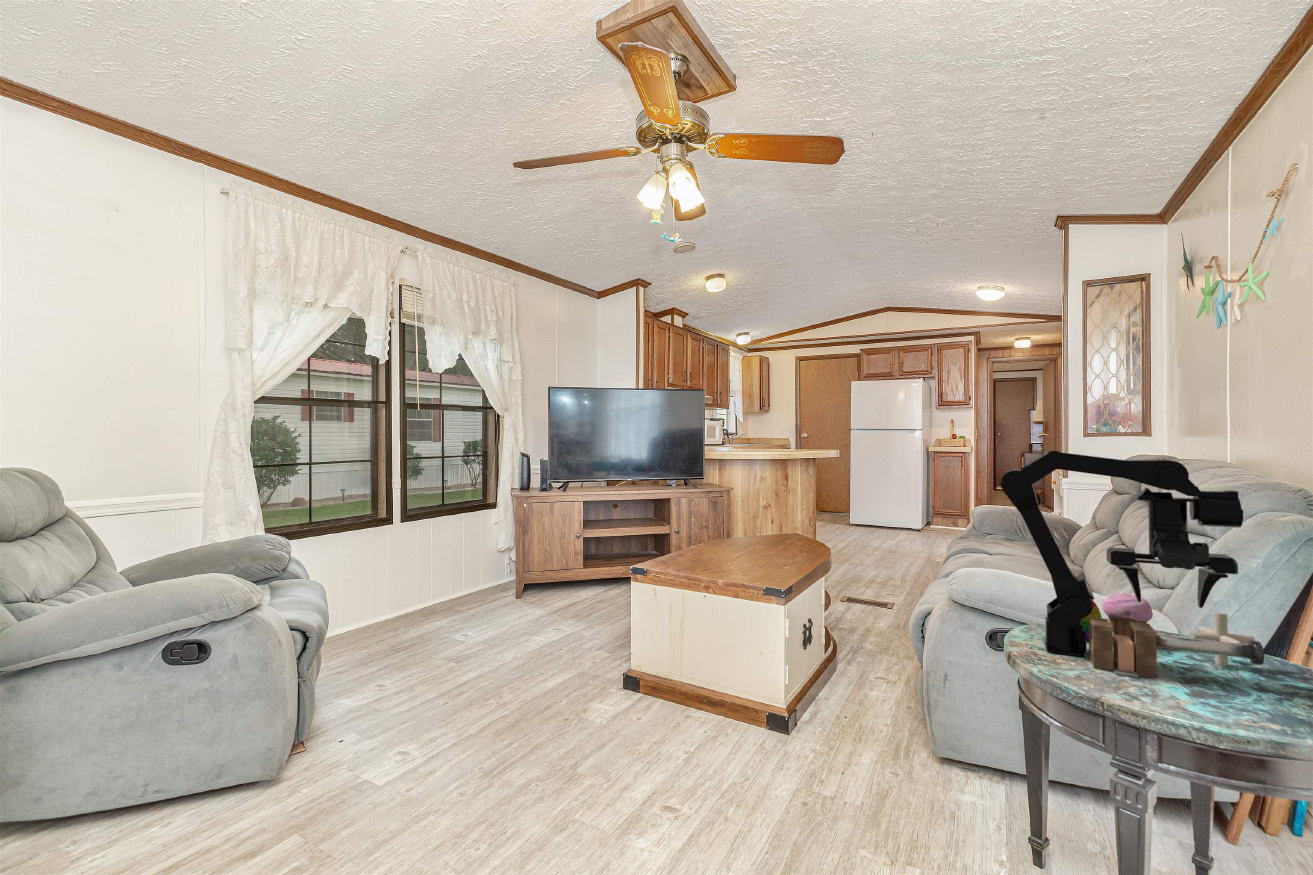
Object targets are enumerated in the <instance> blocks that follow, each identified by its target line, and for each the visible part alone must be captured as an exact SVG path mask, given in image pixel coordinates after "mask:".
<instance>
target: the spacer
mask: <svg viewBox="0 0 1313 875" xmlns="http://www.w3.org/2000/svg"><path fill="white" fill-rule="evenodd" d="M1113 660H1114V662H1115V664H1116V666H1117V668H1118V669H1119V670H1126V671H1133V672H1134V644H1133V642H1132V641H1131V639H1130V638H1129V636H1123V635H1114V634H1113Z"/></svg>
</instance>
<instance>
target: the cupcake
mask: <svg viewBox="0 0 1313 875" xmlns="http://www.w3.org/2000/svg"><path fill="white" fill-rule="evenodd" d="M1102 610H1103V612H1104V614H1105V615H1106V616H1107V619H1108V621H1109V623H1110V624H1111V626H1112V627H1113V634H1114V635H1123V636H1129V638H1130V633H1129V622H1138V623H1147V624H1148V622H1149V621H1150V620H1152V619H1153V617H1154V616H1153V615H1154V614H1153V609H1152V606H1151V605H1150V603H1149V602H1148V601H1147V599H1145V598H1144V597H1141V602H1138V601H1137V599H1136V596H1135V594H1134V595H1133V594H1128V593H1126V592H1125V593H1124V592H1122V593H1121V592H1120V593H1119V592H1113V593H1110V595H1109V596H1108V597H1107V598H1106V599H1105V600H1104V601H1103V602H1102Z"/></svg>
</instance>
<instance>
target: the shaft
mask: <svg viewBox="0 0 1313 875" xmlns="http://www.w3.org/2000/svg"><path fill="white" fill-rule="evenodd" d="M1156 647H1157V648H1159V649H1168V650H1177V651H1185V652H1191V653H1201V654H1208V655H1209V654H1210V655H1215V654H1216V655H1224V656H1228V657H1233V658H1242V659H1249V660H1250V663H1251V664H1253V665H1258V666H1259V665H1260V666H1263V664H1264V662H1265V652H1264V646H1263V645H1262V643H1261V642H1260V641H1259V640H1255V641H1252V640H1250V641H1249V643H1248V644H1238V643H1230V642H1221V641H1212V640H1204V639H1195V638H1189V637H1187V636H1186V637H1185V636H1178V635H1177V636H1176V635H1170V634H1169V635H1167V634H1162V633H1161V634H1160V633H1156Z"/></svg>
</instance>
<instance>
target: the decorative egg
mask: <svg viewBox="0 0 1313 875" xmlns="http://www.w3.org/2000/svg"><path fill="white" fill-rule="evenodd" d="M1091 601H1092V605H1093V609H1092V612H1091V613H1090V614H1089V615H1088V616H1087V617H1085V618H1082V620H1081V622H1082V624H1083V628H1084V629H1085V631H1086V642H1087V641H1088V642H1089V617H1093V618H1102V619H1103V617H1102V614H1101V611H1100V608H1099V607H1098V605H1097V604H1096V602H1095V601H1094V600H1092V599H1091Z"/></svg>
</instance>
